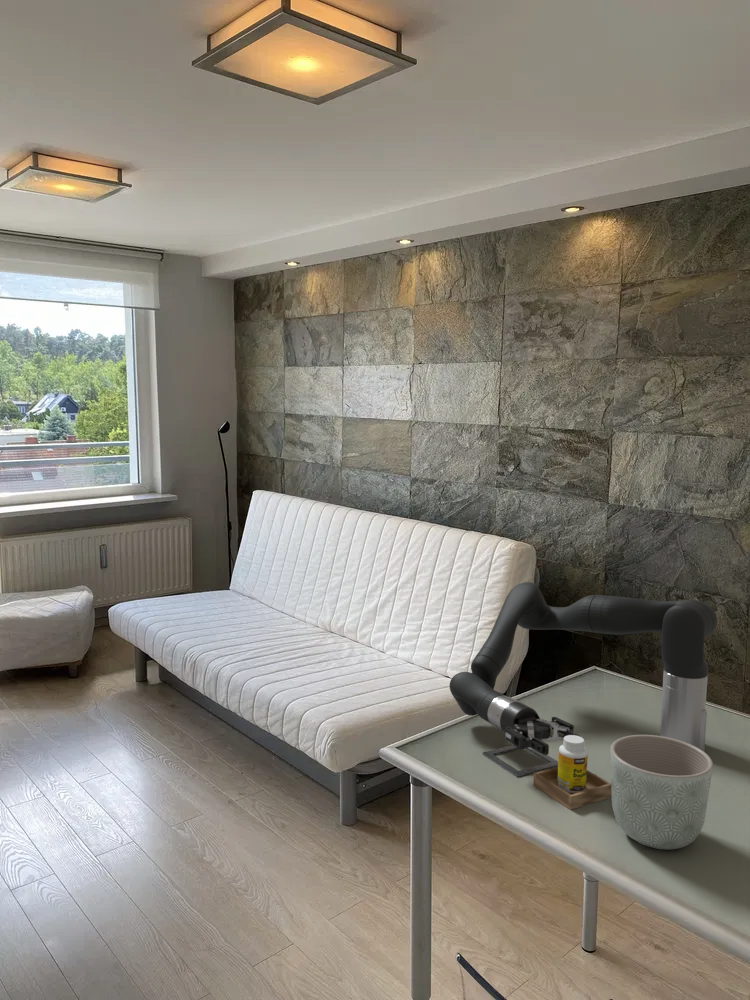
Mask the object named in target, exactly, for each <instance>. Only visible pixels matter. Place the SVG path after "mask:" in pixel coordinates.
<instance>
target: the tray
mask: <svg viewBox="0 0 750 1000" xmlns="http://www.w3.org/2000/svg"><path fill="white" fill-rule="evenodd" d="M532 779H533V781H532V782H533V783H532V785H533V787H535V788H536V789H538V790H539V791H541V792H542V793H544V794H546V795H547V796H548V797H550V798H551V799H553V800H555V801H556V802H558V803H559V804H561V805H562V806H564V807H566V808H567V809H568V810H574V809H577V808H581V807H585V806H586V805H590V804H594V803H597V802H600V801H604V800H606V799H610V798H612V791H611V782H609V781H607V780H605V779H604V778H602V777H600V776H598V775H597V774H595V773H593V772H591V771H589V770H588V769H587V776H586V788H585V790H584V791H582V792H579V793H575V794H573V793H568V792H566V791H564V790H563V789H561V788H560V787H558V784H557V780H558V766H557V767H554V768H550V769H546V770H543V771H539V772H535V773H533V778H532Z"/></svg>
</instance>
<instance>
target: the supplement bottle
mask: <svg viewBox="0 0 750 1000" xmlns="http://www.w3.org/2000/svg"><path fill="white" fill-rule="evenodd" d="M579 736H580V735H579ZM579 736H576V735H567V736H565V737H564V740H563V744H561V745H560V746H559V748H558V760H557V761H558V766H557V767H558V780H557V784H558V787H560V788H561V789H563V790H564V791H566V792H568V793H573V794H575V793H579V792H582V791H584V790H585V788H586V776H587V770H588V757H589V755H588V754H589V752H588V749H587V748H586V747H585V739H584V738H583V737H582V736H580V737H579Z"/></svg>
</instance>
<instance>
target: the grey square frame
mask: <svg viewBox="0 0 750 1000" xmlns="http://www.w3.org/2000/svg"><path fill="white" fill-rule="evenodd" d="M516 750H520V749H519V748H517V747H516V746H514V745H513V744H511V745H508V746H504V747H500V748H495V749H490V750H487V751H483V752H482V755H483V756H484V757H486V758H488V759H489V760H490V761H492V762H493V763H495V764H497V765H498V766H499V767H501V768H502V769H504V770H506V771H507V772H508V773H511V774H512V775H513V776H515V777H516V778H519V777H520V778H521V777H524V776H527V775H530V774H534V773H536V772H540V771H544V770H547V769H551V768H555V767H558V760H557V759H555V758H553V757H551V756H550V755H549V754H548V755H543V754H541V753H539V752H538V751H536V750H534V749H528V747H525V750H527V751H529V752H531V753H532V754H534V755H536V756H538V757H539V758H541V759H543V760H544V761H546V763H543V764H540V765H537V766H532V767H531V766H530V767H529V768H524V769H519V770H518V769H517V768H514V767H513V766H512V765H510V764H508V763H507V762H505V761H504V760H502V759H501V758H499V756H496V755H499V754H504V753H508V752H511V751H512V752H513V751H516Z"/></svg>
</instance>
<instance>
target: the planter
mask: <svg viewBox="0 0 750 1000" xmlns="http://www.w3.org/2000/svg"><path fill="white" fill-rule="evenodd" d="M713 769H714V762H713V760H712V758H711V757H710V756H709V755H708V754H707V753H706V752H705V751H704V752H703V751H702V750H700V749H699V748H697V747H695V746H693V745H691V744H688V743H686V742H683V741H680V740H676V739H673V738H668V737H663V736H660V735H655V734H634V735H633V734H632V735H626V736H623V737H619V738H618V739H615V740H614V741H613V742H612V743H611V745H610V781H611V782H610V784H611V791H612V797H611V805H612V810H613V814H614V817H615V820H616V822H617V823H618V825H619V827H620V829H621V830H622V831H623V832H624V833H625V834H626V836H628V837H629V838H631V839H632V840H634V841H635V842H638V843H639V844H641V845H643V846H646V847H649V848H654V849H657V850H664V851H665V850H667V851H668V850H676V849H681V848H684V847H687V846H688V845H690V844H691V843H692V842H694V841H695V840H696V839H697V838H698V837H699V835H700V833H701V831H702V829H703V826H704V825H705V824H704V823H705V821H706V820H705V819H706V816H707V814H706V813H707V809H708V808H707V807H708V801H709V795H710V789H711V781H712V775H713Z"/></svg>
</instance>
